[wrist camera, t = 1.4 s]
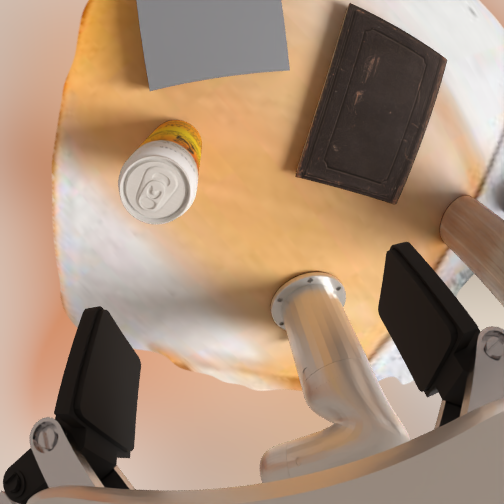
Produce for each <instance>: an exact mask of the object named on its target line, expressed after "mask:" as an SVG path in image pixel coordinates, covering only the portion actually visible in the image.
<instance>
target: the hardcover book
mask: <svg viewBox="0 0 504 504" xmlns="http://www.w3.org/2000/svg"><path fill="white" fill-rule="evenodd" d="M446 63H447V59H446V58H444V57H443V56H442V55H440V54H439V53H437V52H436V51H434V50H433V49H431V48H430V47H428V46H427V45H425V44H424V43H422V42H421V41H419V40H418V39H416V38H415V37H413V36H411V35H410V34H408V33H406V32H405V31H403V30H401V29H400V28H398V27H396V26H394V25H393V24H391V23H389V22H387V21H385V20H383V19H381V18H380V17H378V16H376V15H374V14H372V13H370V12H368V11H366V10H364V9H362V8H359V7H357V6H355V5H353V4H351V3H350V4H349V7H348V8H347V11H346V14H345V17H344V21H343V24H342V27H341V31H340V34H339V37H338V41H337V44H336V47H335V50H334V54H333V57H332V60H331V63H330V67H329V70H328V73H327V76H326V80H325V83H324V86H323V89H322V92H321V96H320V99H319V102H318V105H317V108H316V111H315V114H314V118H313V121H312V124H311V127H310V130H309V133H308V136H307V139H306V143H305V146H304V149H303V152H302V155H301V158H300V161H299V164H298V167H297V170H296V172H297V173H296V177H299V178H303V179H307V180H311V181H315V182H319V183H323V184H327V185H330V186H334V187H338V188H341V189H345V190H348V191H352V192H355V193H359V194H362V195H366V196H369V197H372V198H376V199H379V200H382V201H385V202H389V203H392V204H396V203H397V201H398V199H399V197H400V194H401V192H402V190H403V187H404V185H405V183H406V180H407V178H408V175H409V173H410V170H411V168H412V165H413V163H414V160H415V158H416V155H417V152H418V150H419V147H420V144H421V142H422V139H423V136H424V133H425V131H426V128H427V125H428V122H429V119H430V116H431V113H432V110H433V107H434V104H435V101H436V98H437V94H438V91H439V88H440V84H441V81H442V77H443V74H444V70H445V67H446Z"/></svg>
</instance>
